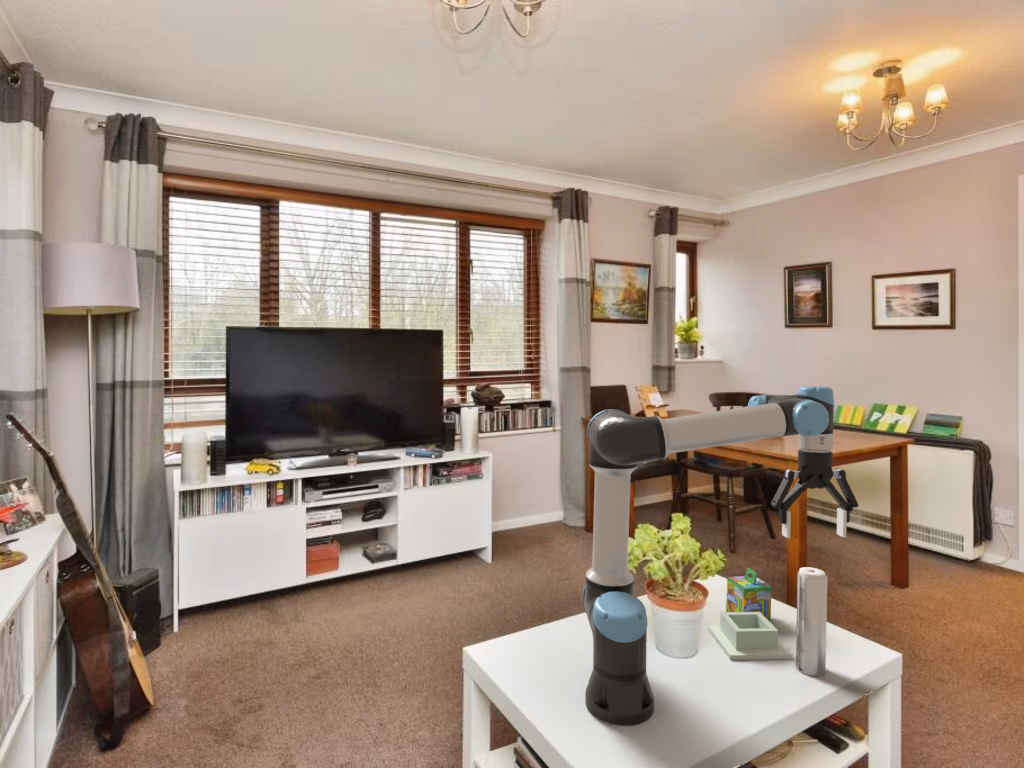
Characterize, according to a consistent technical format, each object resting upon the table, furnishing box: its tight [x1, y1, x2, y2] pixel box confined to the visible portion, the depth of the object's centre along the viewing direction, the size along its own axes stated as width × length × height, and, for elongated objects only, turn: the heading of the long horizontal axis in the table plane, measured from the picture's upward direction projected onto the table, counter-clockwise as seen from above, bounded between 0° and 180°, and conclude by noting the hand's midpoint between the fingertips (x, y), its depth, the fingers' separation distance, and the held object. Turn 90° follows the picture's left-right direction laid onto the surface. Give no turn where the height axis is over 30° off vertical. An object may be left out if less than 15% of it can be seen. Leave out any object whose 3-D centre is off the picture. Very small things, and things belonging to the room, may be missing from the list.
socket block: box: [707, 611, 793, 661], centre depth 155 cm, size 16×16×6 cm
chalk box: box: [725, 567, 773, 624], centre depth 169 cm, size 9×9×15 cm
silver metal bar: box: [795, 566, 828, 677], centre depth 142 cm, size 6×6×25 cm
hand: (813, 536), depth 141 cm, fingers open, 13 cm apart
